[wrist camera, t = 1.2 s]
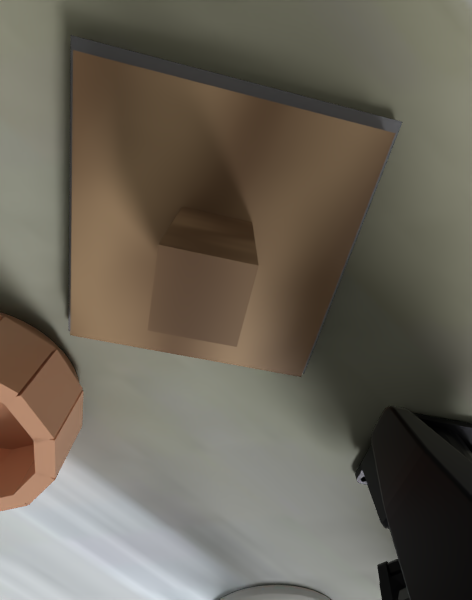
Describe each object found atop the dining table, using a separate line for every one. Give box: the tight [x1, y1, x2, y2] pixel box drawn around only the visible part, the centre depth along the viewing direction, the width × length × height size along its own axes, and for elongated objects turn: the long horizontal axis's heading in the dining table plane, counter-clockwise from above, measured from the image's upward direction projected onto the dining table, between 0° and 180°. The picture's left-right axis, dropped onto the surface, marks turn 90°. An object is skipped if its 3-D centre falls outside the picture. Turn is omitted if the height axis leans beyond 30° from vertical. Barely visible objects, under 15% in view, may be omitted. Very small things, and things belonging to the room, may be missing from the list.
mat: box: [69, 35, 402, 374], centre depth 17 cm, size 13×13×1 cm
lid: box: [70, 50, 396, 377], centre depth 14 cm, size 12×12×6 cm
